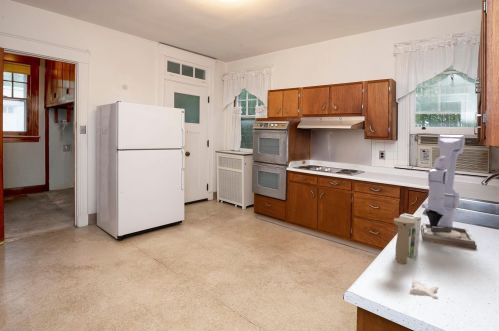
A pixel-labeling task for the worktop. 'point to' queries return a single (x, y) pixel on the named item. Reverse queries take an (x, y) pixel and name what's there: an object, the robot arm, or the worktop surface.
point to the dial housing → (463, 241)
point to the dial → (445, 231)
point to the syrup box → (413, 234)
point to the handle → (403, 239)
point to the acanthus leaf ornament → (423, 289)
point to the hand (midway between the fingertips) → (433, 228)
